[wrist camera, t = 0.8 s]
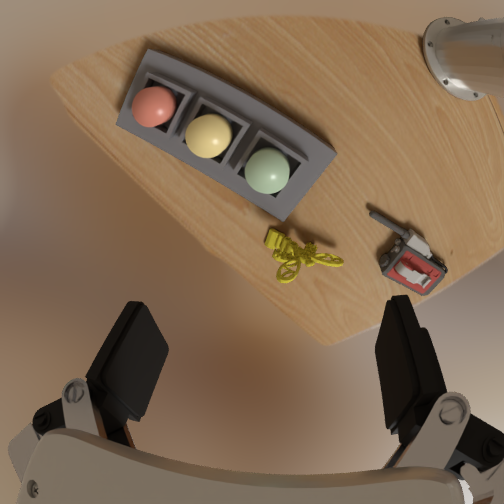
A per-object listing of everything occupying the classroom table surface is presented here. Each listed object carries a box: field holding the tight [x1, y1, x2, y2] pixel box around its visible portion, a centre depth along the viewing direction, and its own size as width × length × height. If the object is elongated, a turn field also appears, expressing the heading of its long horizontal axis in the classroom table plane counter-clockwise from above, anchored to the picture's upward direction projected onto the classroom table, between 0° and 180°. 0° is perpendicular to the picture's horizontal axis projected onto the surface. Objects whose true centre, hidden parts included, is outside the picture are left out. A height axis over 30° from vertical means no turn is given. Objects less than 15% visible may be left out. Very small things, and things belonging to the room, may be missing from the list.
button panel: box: [116, 49, 337, 222], centre depth 32 cm, size 12×28×5 cm, turn 59°
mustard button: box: [185, 113, 233, 158], centre depth 30 cm, size 5×5×2 cm
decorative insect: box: [265, 228, 344, 283], centre depth 41 cm, size 13×3×10 cm
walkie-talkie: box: [369, 211, 448, 296], centre depth 39 cm, size 9×4×20 cm
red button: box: [132, 86, 177, 127], centre depth 28 cm, size 5×5×2 cm
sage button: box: [245, 147, 290, 194], centre depth 31 cm, size 5×5×2 cm
